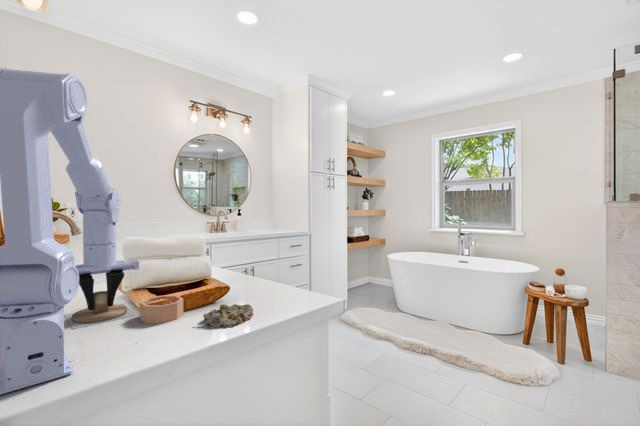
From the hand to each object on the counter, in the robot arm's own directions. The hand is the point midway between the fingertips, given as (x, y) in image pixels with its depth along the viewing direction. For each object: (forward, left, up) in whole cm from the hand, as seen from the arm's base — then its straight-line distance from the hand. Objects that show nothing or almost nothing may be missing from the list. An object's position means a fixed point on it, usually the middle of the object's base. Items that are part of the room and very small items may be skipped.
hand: (100, 307), depth 68 cm
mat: (0, 0, -2) cm, 2 cm away
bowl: (-10, -9, -2) cm, 14 cm away
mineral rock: (-21, -19, -3) cm, 28 cm away
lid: (0, 0, -2) cm, 2 cm away
